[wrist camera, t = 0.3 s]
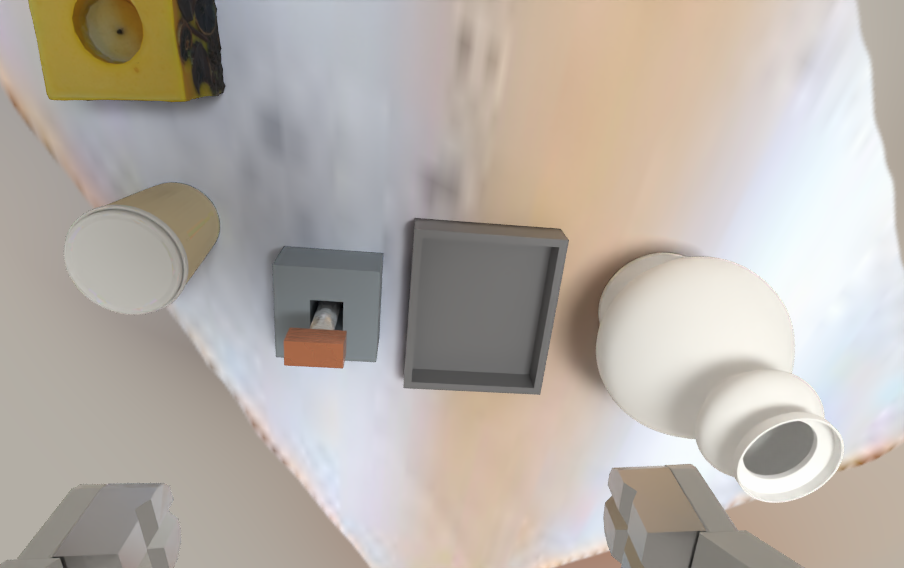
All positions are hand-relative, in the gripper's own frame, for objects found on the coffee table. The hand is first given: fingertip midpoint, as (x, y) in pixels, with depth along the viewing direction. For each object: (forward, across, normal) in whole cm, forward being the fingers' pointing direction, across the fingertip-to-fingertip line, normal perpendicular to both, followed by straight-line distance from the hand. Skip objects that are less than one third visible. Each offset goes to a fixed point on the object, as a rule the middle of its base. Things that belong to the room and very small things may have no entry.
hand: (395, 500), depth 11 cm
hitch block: (+47, +9, +17) cm, 51 cm away
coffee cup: (+47, +23, +8) cm, 53 cm away
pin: (+47, +9, +17) cm, 51 cm away
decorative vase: (+47, -26, +19) cm, 57 cm away
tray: (+47, -7, +18) cm, 51 cm away
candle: (+47, +22, -8) cm, 52 cm away
